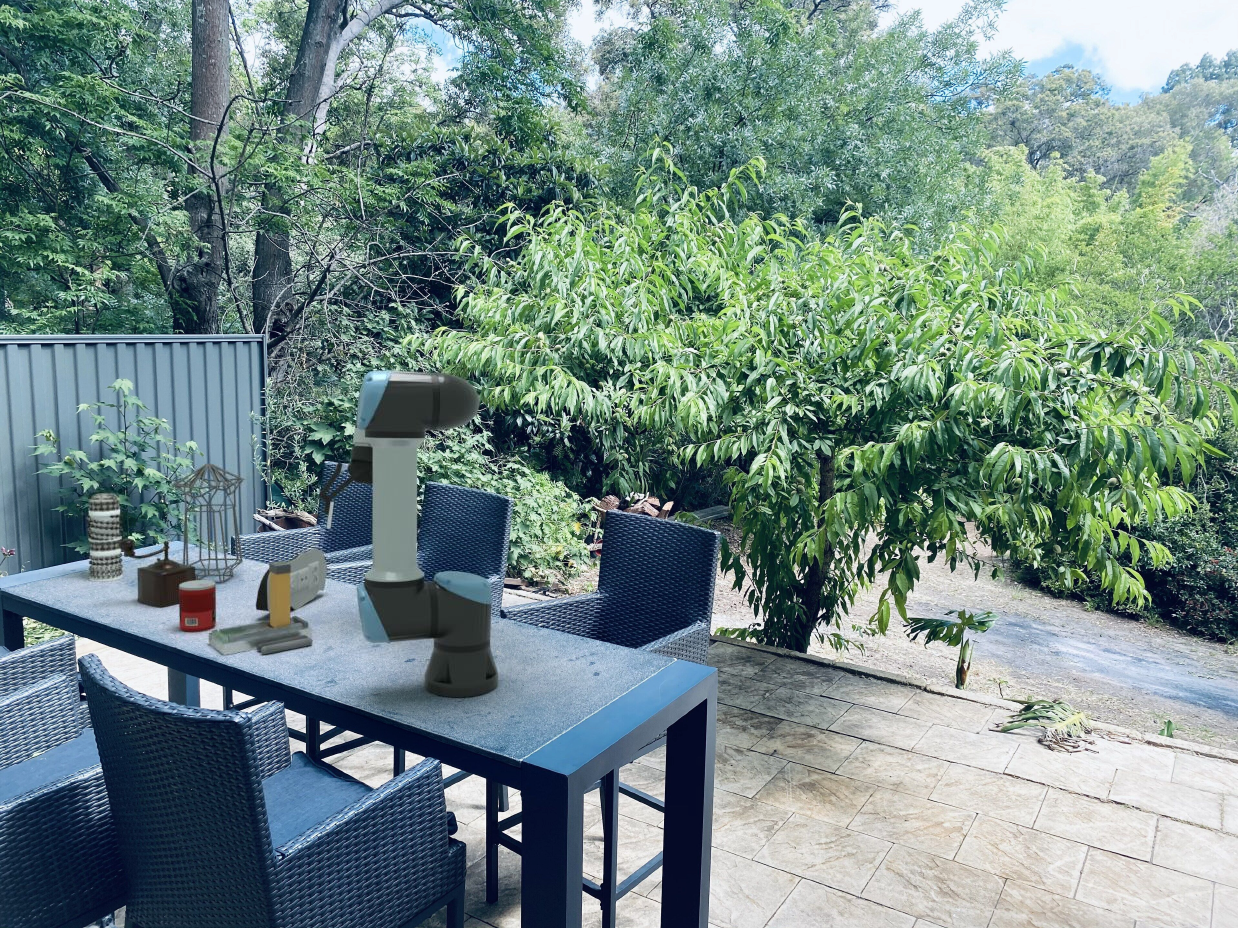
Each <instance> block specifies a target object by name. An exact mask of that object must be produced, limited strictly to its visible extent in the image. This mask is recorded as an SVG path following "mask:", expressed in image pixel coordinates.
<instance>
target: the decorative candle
mask: <svg viewBox="0 0 1238 928" xmlns="http://www.w3.org/2000/svg"><path fill="white" fill-rule="evenodd" d="M120 500H121V498H119V497H118V496H117V495H116V494H115V493H113V492H111V493H110V492H108V493H107V492H103V493H95V494H92V496H91V497H90V499H87V501H88V504H89V505H88V506H89V509H88V515H87V516H86V517H85V519H86V520H87V522H86V526H87V527H88V528H87V530H86V531H87V532H88V533H87V534H86V535H87V538H88V541H89V542H90V543H89V544H90V549H89V556H88V559H89V561H88V564H89V565H90V566H89V567H88V571H89V572H88V576H89V581H91V582H96V583H97V582H100V583H101V582H104V583H105V582H113V581H117V580H121V579H123V577H124V575H123V572H124V571H123V568H124V565H123V564H122V562H123V561H124V560H123V558H122V557H124V554H123V553H122V550H121V549H120V548H119V547H118V543H119V542H120V541H121V540H123V537H122V536H123V533H122V532H120V530H122V529H123V526H121V525H122V524H123V523H124V522H123V521H122V520H120V519H121V518H123V517H124V515H123V514H122V513H121V508H120Z"/></svg>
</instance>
